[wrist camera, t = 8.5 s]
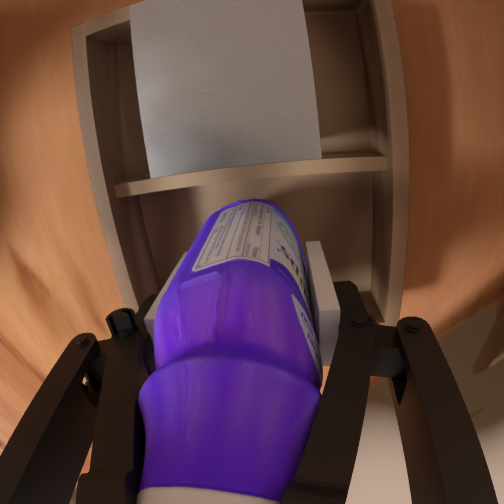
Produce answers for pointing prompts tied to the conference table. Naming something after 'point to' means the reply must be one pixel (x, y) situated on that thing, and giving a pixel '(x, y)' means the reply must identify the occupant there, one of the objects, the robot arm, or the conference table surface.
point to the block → (223, 83)
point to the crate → (268, 174)
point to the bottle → (232, 365)
